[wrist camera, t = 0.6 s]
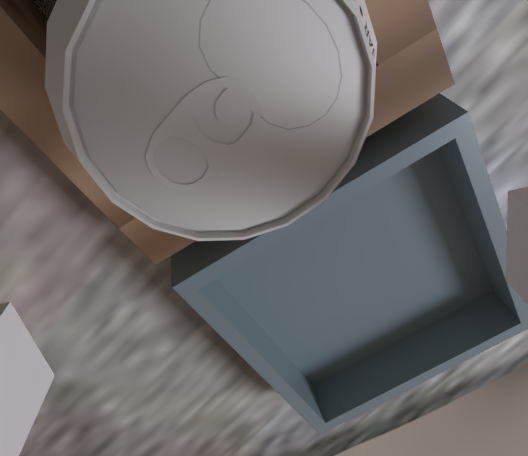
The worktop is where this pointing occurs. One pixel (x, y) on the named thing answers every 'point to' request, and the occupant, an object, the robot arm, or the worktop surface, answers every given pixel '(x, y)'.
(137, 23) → the white soda can
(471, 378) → the worktop surface
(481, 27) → the worktop surface
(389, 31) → the can holder
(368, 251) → the tray
